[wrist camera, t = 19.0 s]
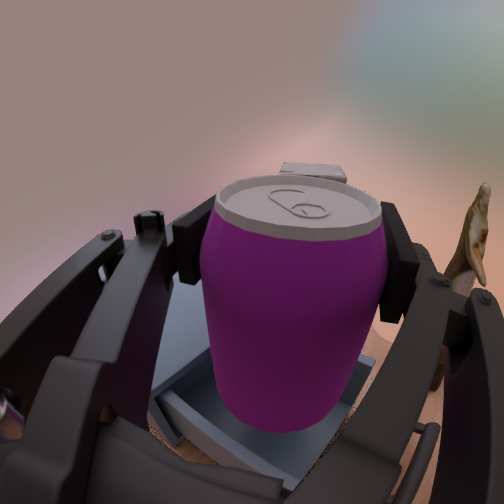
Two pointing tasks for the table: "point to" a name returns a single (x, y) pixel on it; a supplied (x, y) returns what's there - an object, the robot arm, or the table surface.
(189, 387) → the drawer
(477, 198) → the figurine
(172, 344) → the cabinet
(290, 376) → the beverage can
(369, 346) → the table surface
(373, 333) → the table surface
